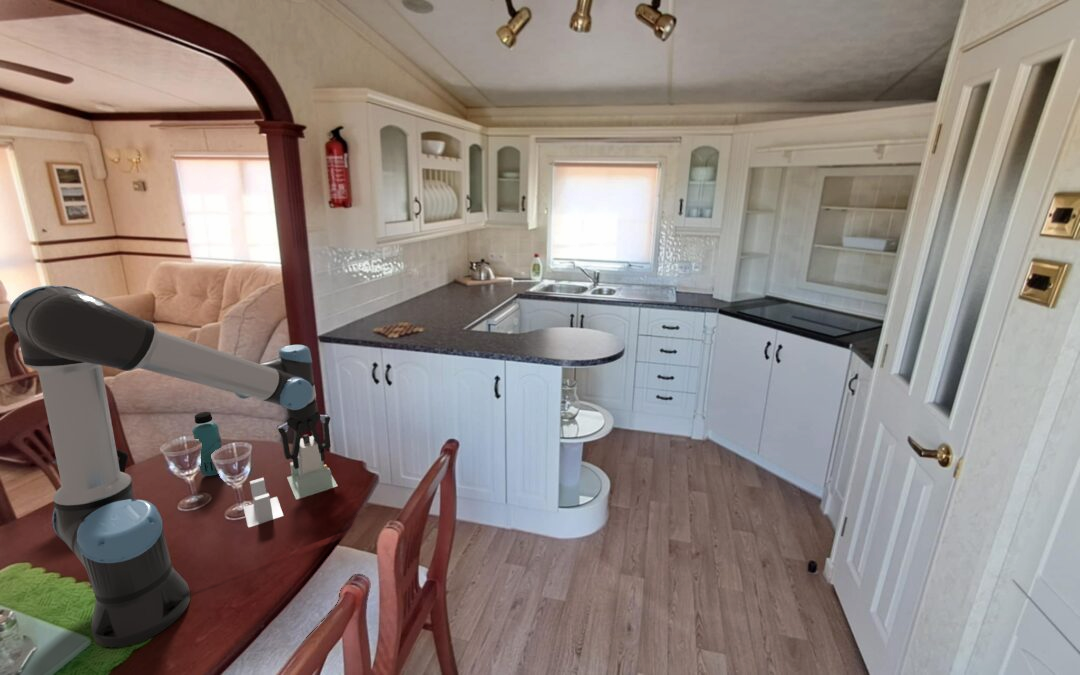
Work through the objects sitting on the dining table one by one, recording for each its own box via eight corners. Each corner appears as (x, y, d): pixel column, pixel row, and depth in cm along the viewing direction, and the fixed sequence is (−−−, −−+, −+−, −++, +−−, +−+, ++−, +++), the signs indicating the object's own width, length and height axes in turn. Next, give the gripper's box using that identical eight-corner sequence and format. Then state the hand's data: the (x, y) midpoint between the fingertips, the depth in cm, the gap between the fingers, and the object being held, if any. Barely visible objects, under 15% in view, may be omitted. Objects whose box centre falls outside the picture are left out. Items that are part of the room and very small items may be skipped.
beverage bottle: (203, 483, 137) (190, 421, 131) (199, 473, 142) (186, 413, 136) (229, 475, 141) (218, 414, 136) (225, 466, 146) (213, 407, 140)
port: (338, 489, 136) (336, 470, 135) (296, 502, 130) (293, 483, 128) (326, 468, 146) (324, 451, 144) (287, 480, 140) (284, 462, 138)
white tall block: (322, 481, 136) (316, 437, 132) (305, 486, 134) (299, 442, 130) (317, 471, 141) (311, 429, 137) (301, 476, 138) (295, 433, 134)
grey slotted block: (284, 518, 123) (280, 492, 121) (248, 530, 119) (243, 503, 116) (277, 499, 131) (273, 474, 129) (243, 510, 126) (239, 484, 124)
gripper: (331, 388, 138) (338, 459, 145) (263, 402, 128) (274, 477, 135) (338, 397, 132) (345, 470, 139) (267, 413, 122) (279, 490, 129)
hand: (310, 473), depth 137 cm, fingers closed on white tall block, 4 cm apart
